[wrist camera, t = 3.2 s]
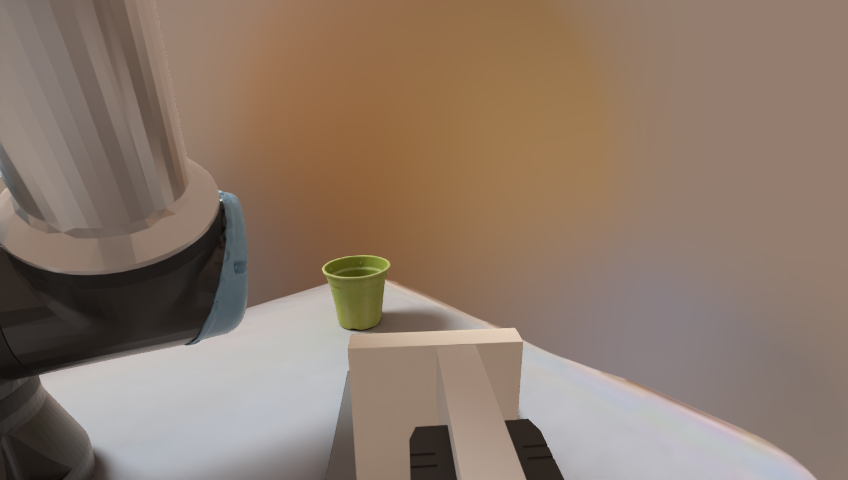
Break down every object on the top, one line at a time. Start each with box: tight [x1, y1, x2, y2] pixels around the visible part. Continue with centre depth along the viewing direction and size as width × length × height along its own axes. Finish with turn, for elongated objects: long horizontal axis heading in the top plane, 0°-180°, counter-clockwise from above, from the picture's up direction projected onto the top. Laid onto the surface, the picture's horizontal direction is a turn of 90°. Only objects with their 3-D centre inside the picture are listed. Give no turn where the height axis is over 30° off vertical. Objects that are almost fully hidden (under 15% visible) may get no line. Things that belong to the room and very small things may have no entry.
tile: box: [348, 328, 523, 480], centre depth 25 cm, size 2×10×14 cm, turn 94°
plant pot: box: [322, 255, 390, 330], centre depth 57 cm, size 9×9×9 cm
